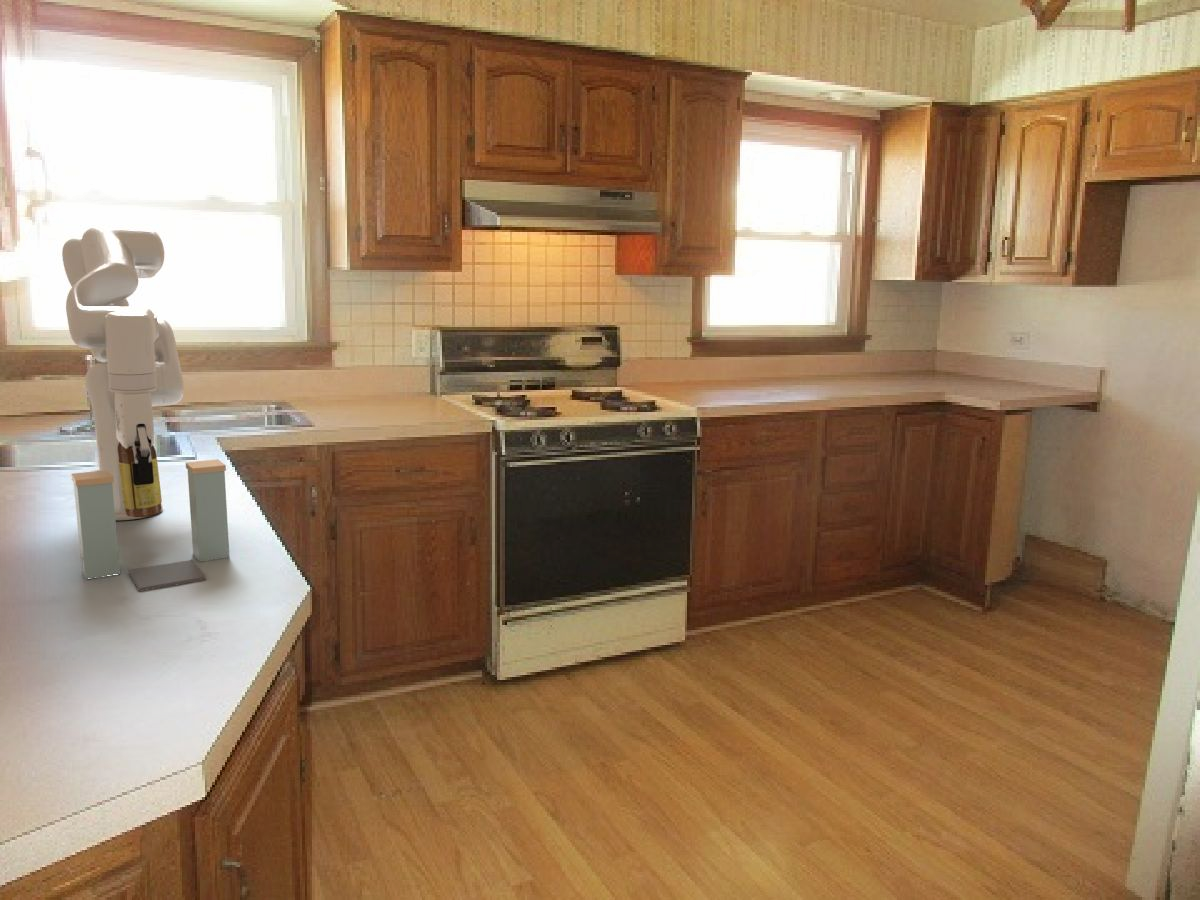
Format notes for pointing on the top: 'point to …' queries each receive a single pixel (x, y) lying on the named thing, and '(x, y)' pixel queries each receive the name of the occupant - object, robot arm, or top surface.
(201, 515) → the canister
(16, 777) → the top surface
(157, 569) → the plate
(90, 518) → the canister
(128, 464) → the sauce bottle
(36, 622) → the top surface
